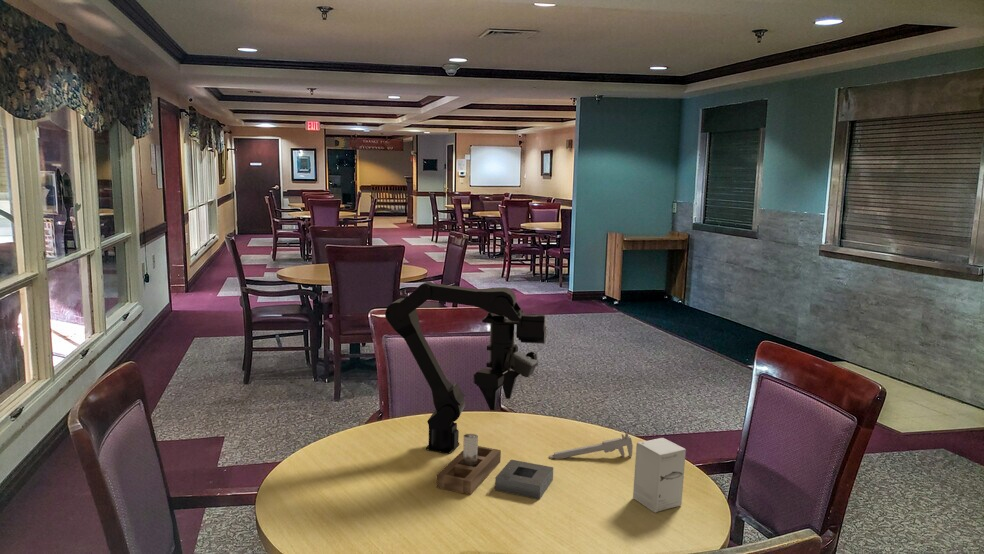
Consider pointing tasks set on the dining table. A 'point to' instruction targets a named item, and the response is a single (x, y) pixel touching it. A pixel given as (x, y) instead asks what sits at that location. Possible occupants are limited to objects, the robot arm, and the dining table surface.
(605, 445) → the caliper
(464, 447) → the metal peg
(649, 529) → the dining table surface
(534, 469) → the socket block
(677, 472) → the supplement box
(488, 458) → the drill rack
